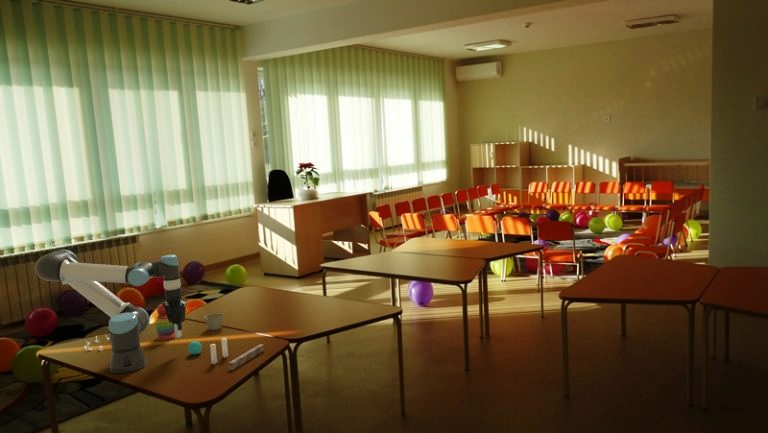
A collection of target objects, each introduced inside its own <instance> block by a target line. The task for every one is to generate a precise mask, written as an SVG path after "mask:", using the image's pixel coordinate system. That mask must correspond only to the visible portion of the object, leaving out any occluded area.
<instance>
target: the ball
mask: <svg viewBox="0 0 768 433" xmlns="http://www.w3.org/2000/svg"><path fill="white" fill-rule="evenodd" d="M187 349H188V352H189V354H192V355H198V354H200V352H201V351H202V349H203V346H202V343H201V342H199V341H196V340H195V341H194V340H193V341H192V342H190V343H189V345H188V348H187Z"/></svg>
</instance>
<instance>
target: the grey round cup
mask: <svg viewBox="0 0 768 433" xmlns="http://www.w3.org/2000/svg"><path fill="white" fill-rule="evenodd" d="M224 317H225V316H224V314H223V313H222V312H215V313H209V314H206V315H205V316H204V321H205V324H206V325H207V327H208V329H209V330H211V331H217V330H220V329H221V328H222V325H223V322H224Z"/></svg>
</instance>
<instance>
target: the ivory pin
mask: <svg viewBox="0 0 768 433" xmlns="http://www.w3.org/2000/svg"><path fill="white" fill-rule="evenodd" d="M220 342H221V350H222V353H221V354H222V358H223V357H224V359H225V358H226V357H227V358H228V357H229V351H228V350H229V349H228V339H227V337H223V338H221V339H220Z"/></svg>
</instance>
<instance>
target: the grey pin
mask: <svg viewBox="0 0 768 433" xmlns="http://www.w3.org/2000/svg"><path fill="white" fill-rule="evenodd" d="M209 348H210V349H209V350H210V360H211V365H217V364H218V358H217V357H218V356H217V349H216V348H217V347H216V343H210V344H209ZM216 363H217V364H216Z"/></svg>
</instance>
